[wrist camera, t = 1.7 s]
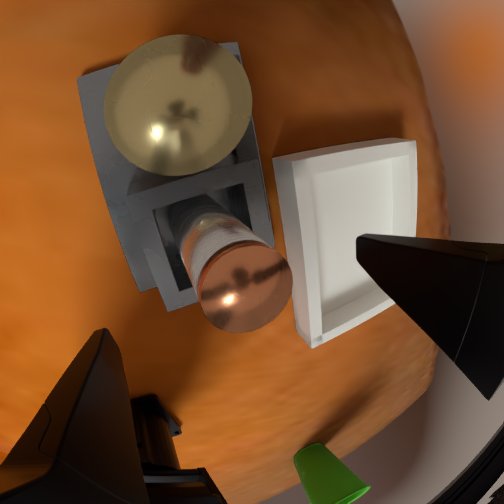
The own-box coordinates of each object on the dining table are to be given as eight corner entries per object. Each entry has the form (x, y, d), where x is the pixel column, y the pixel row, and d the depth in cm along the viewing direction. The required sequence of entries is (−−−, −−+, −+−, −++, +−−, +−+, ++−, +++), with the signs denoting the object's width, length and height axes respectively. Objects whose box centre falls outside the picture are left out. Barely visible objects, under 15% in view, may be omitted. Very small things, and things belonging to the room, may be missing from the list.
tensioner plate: (271, 243, 19) (309, 273, 15) (139, 287, 17) (143, 334, 13) (234, 44, 14) (268, 16, 9) (78, 80, 11) (56, 58, 7)
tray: (391, 283, 26) (408, 294, 24) (296, 331, 23) (311, 348, 21) (392, 137, 20) (416, 140, 18) (271, 157, 17) (291, 161, 15)
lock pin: (225, 234, 17) (297, 312, 10) (177, 250, 16) (215, 344, 9) (214, 186, 16) (287, 233, 9) (162, 202, 15) (188, 266, 8)
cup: (339, 441, 38) (374, 487, 29) (293, 470, 37) (324, 518, 28) (324, 428, 34) (366, 484, 24) (270, 462, 33) (305, 520, 23)
